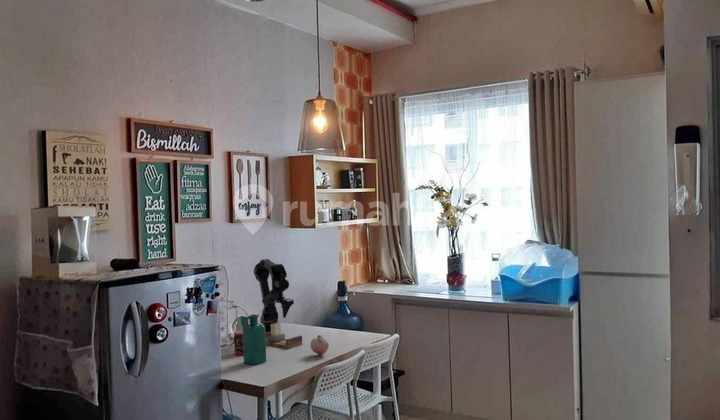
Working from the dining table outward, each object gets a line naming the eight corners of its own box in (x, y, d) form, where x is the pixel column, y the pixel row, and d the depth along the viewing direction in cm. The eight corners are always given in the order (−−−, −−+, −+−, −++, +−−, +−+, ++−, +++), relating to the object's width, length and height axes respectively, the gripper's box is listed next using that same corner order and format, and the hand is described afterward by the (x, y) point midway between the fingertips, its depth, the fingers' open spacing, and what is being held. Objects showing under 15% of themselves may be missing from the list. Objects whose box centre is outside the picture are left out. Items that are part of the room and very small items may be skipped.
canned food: (231, 354, 289) (230, 332, 288) (242, 350, 296) (241, 328, 296) (244, 356, 285) (243, 333, 285) (254, 352, 292) (253, 330, 292)
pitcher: (256, 358, 280) (254, 312, 280) (268, 361, 275) (266, 314, 274) (239, 363, 273) (238, 315, 272) (251, 366, 267) (250, 317, 267)
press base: (258, 343, 310) (258, 334, 310) (272, 339, 318) (272, 331, 318) (288, 349, 296) (288, 340, 296) (302, 344, 304) (301, 335, 304)
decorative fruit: (308, 354, 285) (307, 333, 285) (324, 352, 288) (324, 331, 288) (314, 359, 276) (313, 337, 276) (330, 356, 279) (330, 335, 279)
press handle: (267, 340, 308) (266, 324, 308) (277, 337, 314) (276, 321, 313) (275, 341, 304) (274, 325, 304) (285, 338, 310) (284, 322, 310)
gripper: (254, 288, 317) (255, 317, 317) (278, 291, 305) (279, 321, 305) (269, 285, 325) (270, 314, 326) (293, 288, 314) (294, 317, 314)
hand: (278, 317), depth 317 cm, fingers open, 9 cm apart
